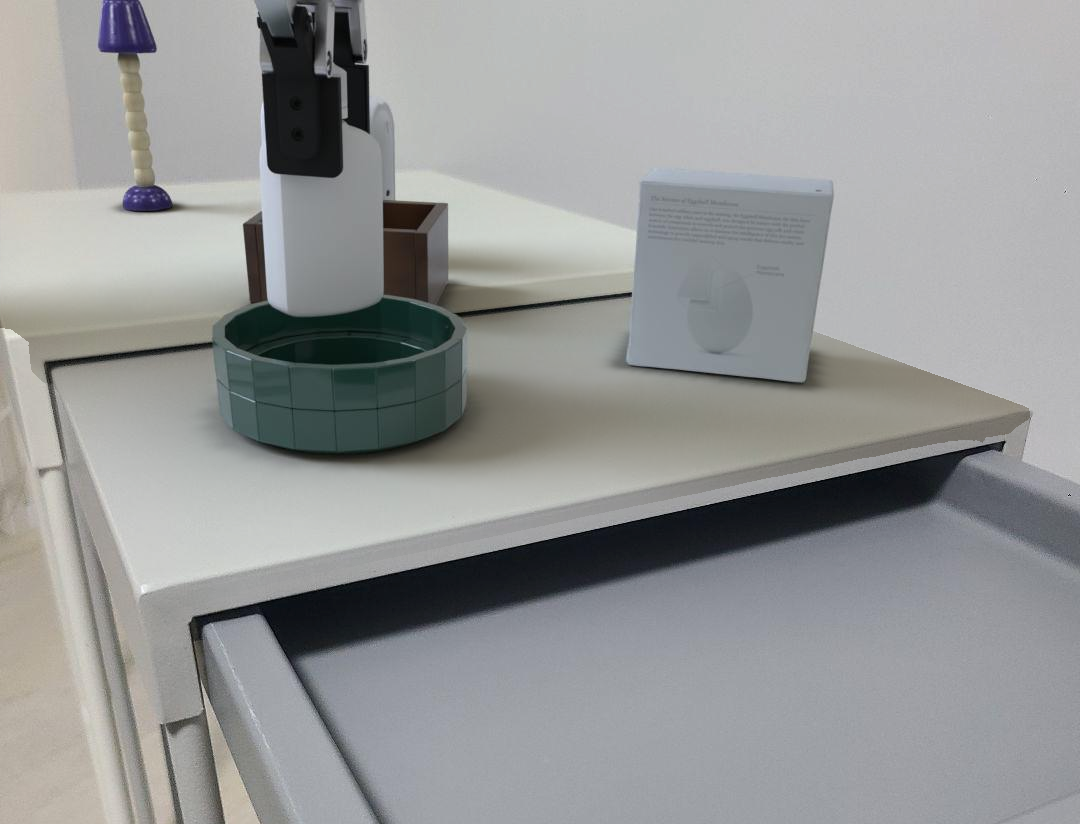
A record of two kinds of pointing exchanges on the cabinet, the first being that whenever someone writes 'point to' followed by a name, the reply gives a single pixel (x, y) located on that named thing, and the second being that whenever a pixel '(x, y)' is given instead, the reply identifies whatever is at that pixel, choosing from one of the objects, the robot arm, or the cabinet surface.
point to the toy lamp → (133, 94)
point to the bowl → (341, 375)
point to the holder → (407, 251)
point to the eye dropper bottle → (325, 230)
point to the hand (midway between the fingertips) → (321, 159)
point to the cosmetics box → (728, 272)
